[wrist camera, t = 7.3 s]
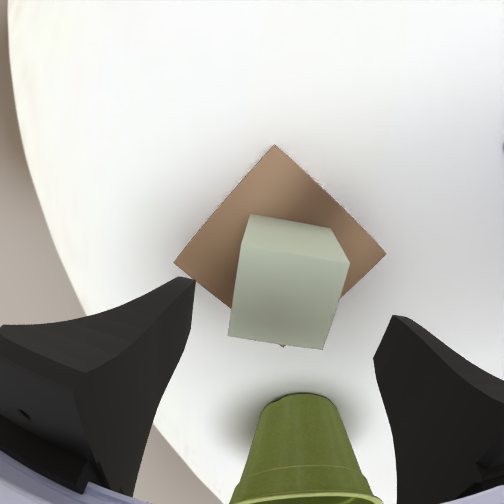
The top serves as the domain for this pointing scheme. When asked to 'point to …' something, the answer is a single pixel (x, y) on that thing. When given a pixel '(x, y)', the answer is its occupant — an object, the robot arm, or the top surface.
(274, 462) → the plant pot
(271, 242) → the sage block
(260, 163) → the brown square block
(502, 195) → the top surface
